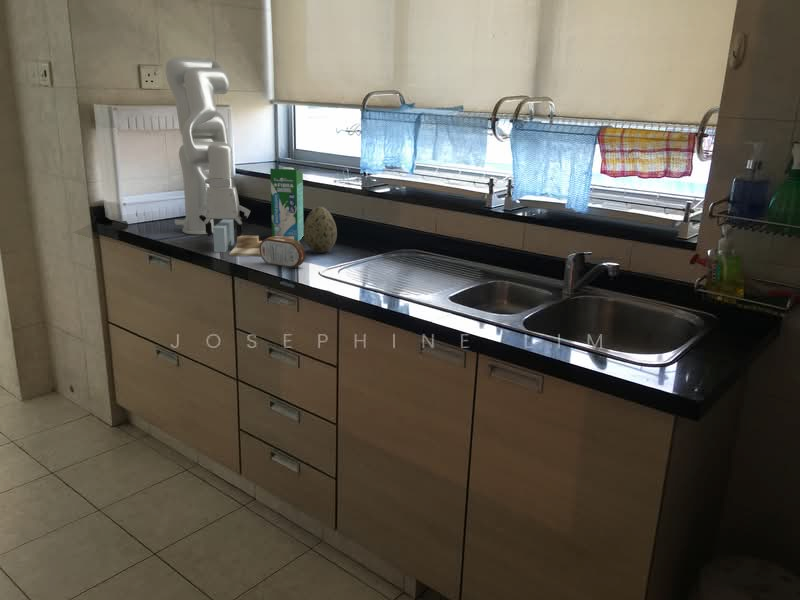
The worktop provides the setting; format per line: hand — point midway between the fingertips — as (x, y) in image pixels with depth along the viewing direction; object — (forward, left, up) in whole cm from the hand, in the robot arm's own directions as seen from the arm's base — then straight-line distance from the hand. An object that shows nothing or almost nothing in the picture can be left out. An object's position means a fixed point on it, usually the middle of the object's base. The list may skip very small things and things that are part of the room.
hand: (224, 235), depth 224 cm
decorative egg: (+32, -3, -4) cm, 32 cm away
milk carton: (+19, +16, -4) cm, 25 cm away
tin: (+22, -21, -4) cm, 31 cm away
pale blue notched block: (0, +1, -4) cm, 4 cm away
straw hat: (+14, -1, -4) cm, 14 cm away
